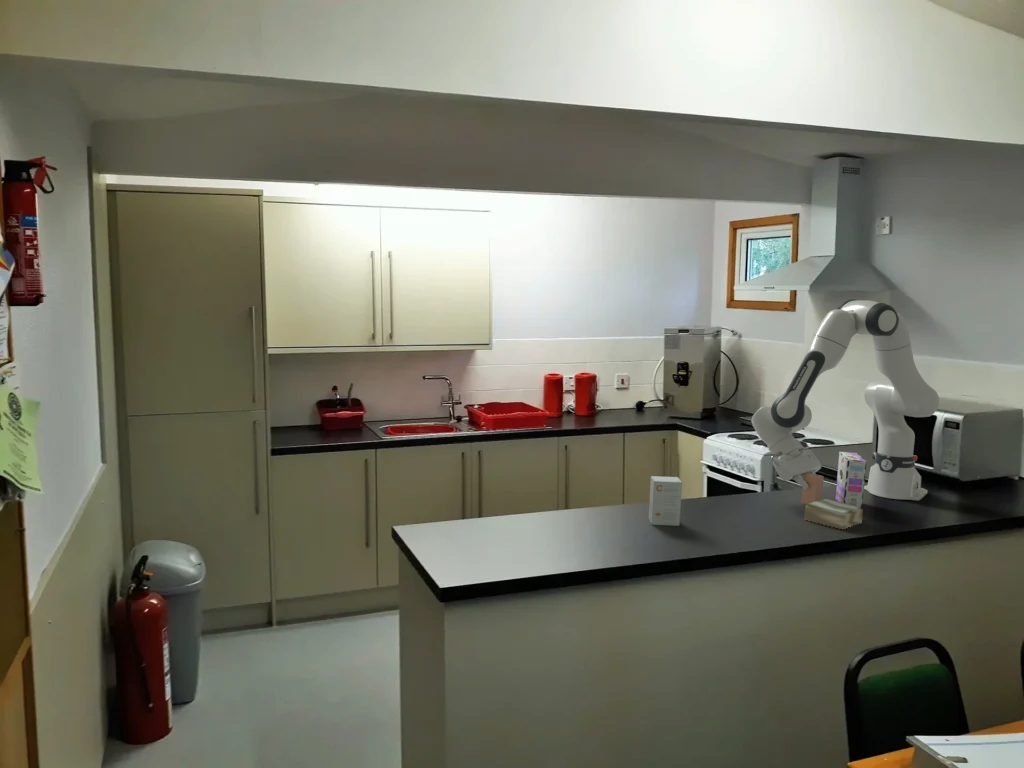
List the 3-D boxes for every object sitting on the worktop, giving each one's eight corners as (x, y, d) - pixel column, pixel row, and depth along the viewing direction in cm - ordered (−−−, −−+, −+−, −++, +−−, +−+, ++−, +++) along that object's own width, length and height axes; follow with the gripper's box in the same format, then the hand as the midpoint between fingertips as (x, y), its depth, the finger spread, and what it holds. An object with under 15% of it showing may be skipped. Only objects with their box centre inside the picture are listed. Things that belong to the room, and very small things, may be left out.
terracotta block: (808, 500, 260) (810, 473, 259) (821, 503, 257) (823, 476, 255) (801, 502, 257) (803, 475, 256) (814, 506, 254) (816, 478, 252)
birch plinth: (823, 513, 250) (825, 497, 250) (861, 523, 241) (863, 506, 241) (803, 519, 242) (805, 503, 242) (842, 530, 234) (844, 513, 233)
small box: (675, 519, 237) (678, 476, 236) (679, 526, 231) (682, 482, 230) (647, 518, 238) (650, 475, 236) (651, 525, 231) (654, 480, 230)
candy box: (862, 512, 254) (867, 461, 252) (842, 510, 255) (847, 459, 253) (853, 500, 267) (857, 452, 265) (834, 499, 268) (838, 450, 266)
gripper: (776, 449, 253) (802, 486, 247) (809, 441, 267) (835, 476, 261) (762, 460, 257) (788, 497, 251) (795, 452, 271) (820, 487, 265)
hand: (812, 486), depth 256 cm, fingers closed on terracotta block, 4 cm apart
